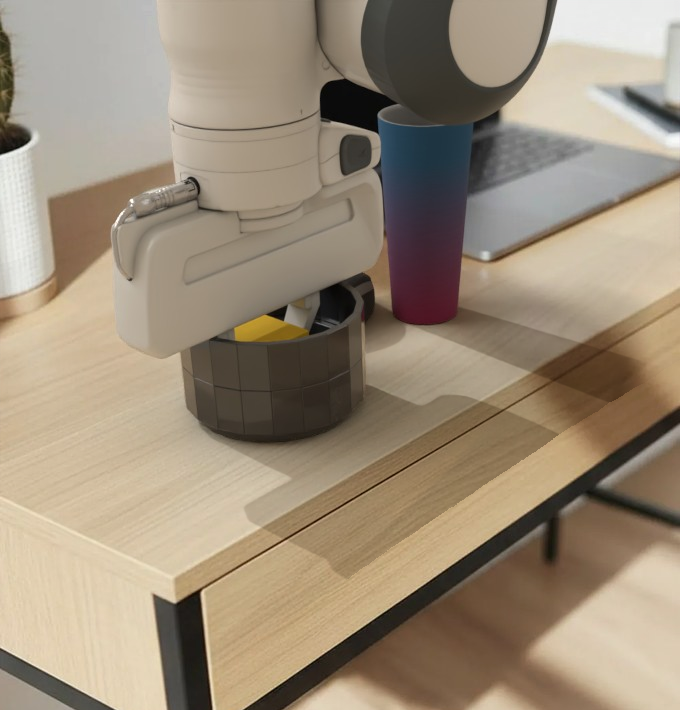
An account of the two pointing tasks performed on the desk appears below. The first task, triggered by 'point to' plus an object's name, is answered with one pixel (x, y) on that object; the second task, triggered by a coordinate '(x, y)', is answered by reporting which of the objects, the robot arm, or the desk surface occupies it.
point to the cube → (268, 330)
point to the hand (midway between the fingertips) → (264, 371)
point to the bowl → (282, 376)
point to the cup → (424, 212)
